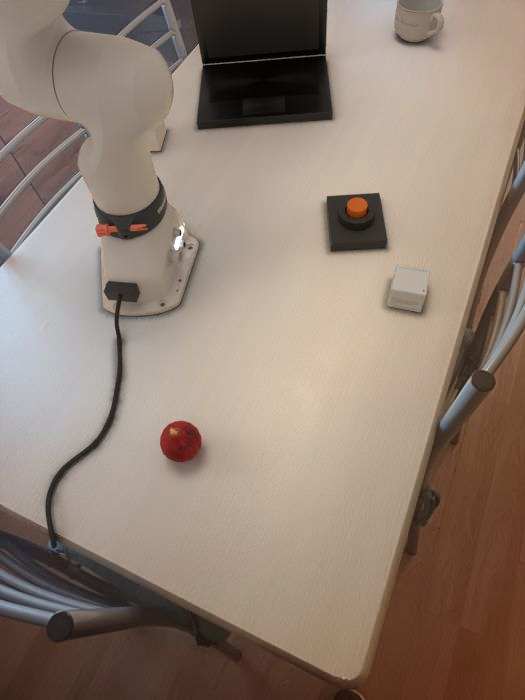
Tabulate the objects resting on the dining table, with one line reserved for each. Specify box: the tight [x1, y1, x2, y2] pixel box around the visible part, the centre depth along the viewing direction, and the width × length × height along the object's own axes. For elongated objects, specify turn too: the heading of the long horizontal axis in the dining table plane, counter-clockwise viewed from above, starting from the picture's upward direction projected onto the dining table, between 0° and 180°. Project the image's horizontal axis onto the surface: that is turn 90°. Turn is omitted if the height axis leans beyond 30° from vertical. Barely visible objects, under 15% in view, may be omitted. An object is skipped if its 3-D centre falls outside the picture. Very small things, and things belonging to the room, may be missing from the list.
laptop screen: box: [190, 0, 329, 66], centre depth 111 cm, size 22×30×1 cm
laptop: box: [196, 54, 333, 130], centre depth 116 cm, size 22×30×2 cm
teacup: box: [393, 0, 445, 43], centre depth 120 cm, size 14×11×8 cm
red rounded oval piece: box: [159, 420, 202, 463], centre depth 71 cm, size 6×6×8 cm
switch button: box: [347, 198, 368, 219], centre depth 90 cm, size 4×4×2 cm
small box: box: [386, 263, 431, 313], centre depth 83 cm, size 6×6×5 cm
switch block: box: [325, 192, 388, 252], centre depth 92 cm, size 12×10×4 cm
